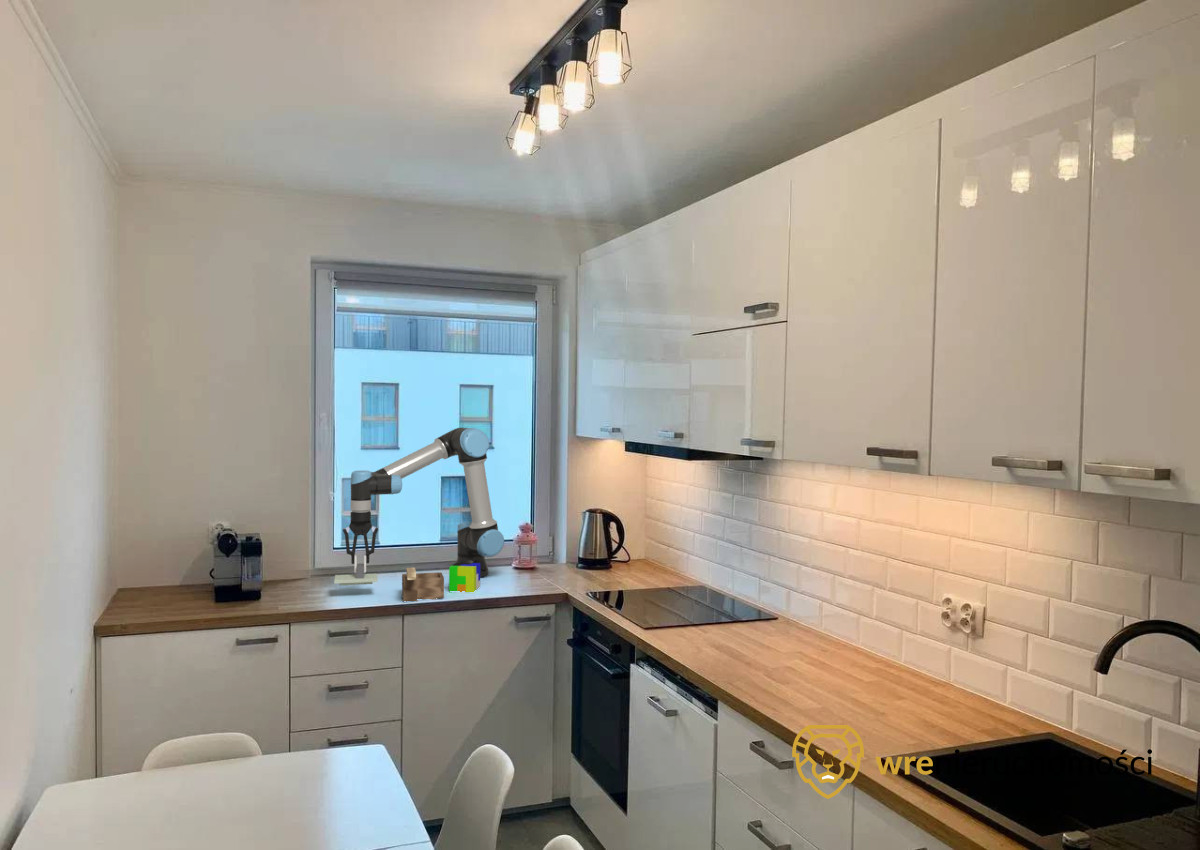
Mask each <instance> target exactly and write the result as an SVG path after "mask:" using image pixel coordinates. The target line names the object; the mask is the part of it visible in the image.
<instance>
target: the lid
mask: <svg viewBox="0 0 1200 850" xmlns="http://www.w3.org/2000/svg"><path fill="white" fill-rule="evenodd" d="M333 582H334V583H333V584H339V586H355V585H358V586H359V585H360V586H361V585H372V584H373V583H377V582H378V573H364V563H357V567H356V573H354V574H335V575H334V581H333Z"/></svg>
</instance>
